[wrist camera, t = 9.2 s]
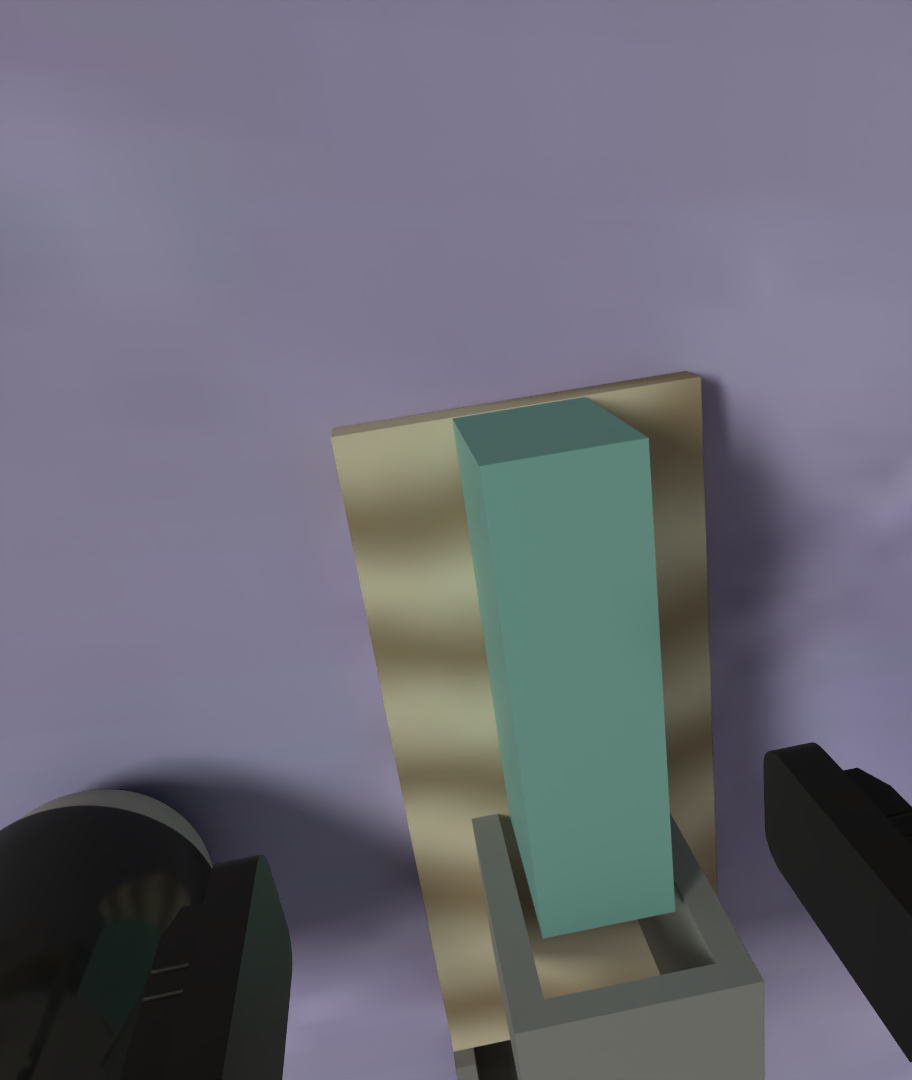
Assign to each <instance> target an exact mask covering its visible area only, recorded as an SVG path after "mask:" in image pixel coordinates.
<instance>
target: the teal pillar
mask: <svg viewBox="0 0 912 1080" xmlns="http://www.w3.org/2000/svg"><path fill="white" fill-rule="evenodd" d="M452 420H453V427H454V434H455V441H456V448H457V454H458V461H459V468H460V475H461V482H462V489H463V496H464V503H465V510H466V517H467V524H468V531H469V538H470V545H471V552H472V559H473V566H474V573H475V580H476V586H477V593H478V600H479V607H480V614H481V621H482V628H483V635H484V642H485V649H486V656H487V663H488V670H489V677H490V684H491V691H492V698H493V705H494V712H495V719H496V725H497V732H498V739H499V746H500V753H501V760H502V767H503V774H504V781H505V788H506V795H507V802H508V809H509V814H510V818H511V822H512V826H513V829H514V833H515V837H516V840H517V844H518V848H519V852H520V855H521V859H522V863H523V867H524V870H525V874H526V878H527V881H528V885H529V889H530V893H531V896H532V900H533V904H534V907H535V911H536V915H537V919H538V922H539V926H540V930H541V934H542V937H543V939H544V938H549V937H554V936H558V935H563V934H568V933H573V932H578V931H583V930H588V929H593V928H598V927H603V926H607V925H612V924H617V923H622V922H627V921H632V920H637V919H642V918H647V917H651V916H656V915H661V914H666V913H671V912H675V897H674V879H673V861H672V844H671V826H670V808H669V790H668V772H667V755H666V737H665V719H664V701H663V684H662V666H661V648H660V630H659V613H658V595H657V577H656V559H655V541H654V524H653V506H652V488H651V470H650V453H649V438H648V437H647V436H645V435H643V434H642V433H640V432H639V431H637V430H636V429H634V428H632V427H631V426H629V425H628V424H626V423H625V422H623V421H621V420H620V419H618V418H617V417H615V416H614V415H612V414H611V413H609V412H607V411H606V410H604V409H603V408H601V407H600V406H598V405H596V404H595V403H593V402H592V401H590V400H589V399H587V398H586V397H581V398H575V399H569V400H563V401H557V402H551V403H545V404H539V405H533V406H527V407H520V408H514V409H508V410H502V411H496V412H490V413H484V414H478V415H472V416H466V417H459V418H453V419H452Z"/></svg>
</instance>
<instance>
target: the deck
mask: <svg viewBox="0 0 912 1080" xmlns="http://www.w3.org/2000/svg"><path fill="white" fill-rule="evenodd" d="M581 397H586V398H587V399H589V400H590V401H592V402H593V403H595V404H596V405H598V406H600V407H601V408H603V409H604V410H606V411H607V412H609V413H611V414H612V415H614V416H615V417H617V418H618V419H620V420H621V421H623V422H625V423H626V424H628V425H629V426H631V427H632V428H634V429H636V430H637V431H639V432H640V433H642V434H643V435H645V436H647V437H648V438H649V453H650V470H651V488H652V506H653V524H654V541H655V559H656V577H657V595H658V613H659V630H660V648H661V666H662V684H663V701H664V719H665V737H666V755H667V772H668V790H669V808H670V813H671V815H672V817H673V819H674V820H675V822H676V824H677V826H678V828H679V829H680V831H681V833H682V835H683V837H684V838H685V840H686V842H687V844H688V846H689V847H690V849H691V851H692V853H693V855H694V856H695V858H696V860H697V862H698V864H699V865H700V867H701V869H702V871H703V873H704V874H705V876H706V878H707V880H708V882H709V883H710V885H711V887H712V889H713V891H714V892H715V894H716V896H717V866H716V834H715V803H714V771H713V740H712V708H711V677H710V645H709V614H708V582H707V550H706V519H705V487H704V456H703V424H702V393H701V376H698V375H695V374H692V373H689V372H687V371H683V372H677V373H671V374H665V375H659V376H653V377H647V378H640V379H634V380H628V381H622V382H616V383H610V384H604V385H598V386H591V387H585V388H579V389H573V390H567V391H561V392H555V393H549V394H542V395H536V396H530V397H524V398H518V399H512V400H506V401H500V402H493V403H487V404H481V405H475V406H469V407H463V408H457V409H451V410H444V411H438V412H432V413H426V414H420V415H414V416H408V417H402V418H395V419H389V420H383V421H377V422H371V423H365V424H359V425H353V426H346V427H340V428H334V429H332V433H331V441H332V446H333V451H334V456H335V461H336V466H337V471H338V476H339V481H340V486H341V491H342V496H343V501H344V506H345V511H346V516H347V521H348V526H349V531H350V536H351V541H352V546H353V551H354V556H355V561H356V566H357V571H358V576H359V581H360V586H361V591H362V596H363V601H364V606H365V611H366V616H367V621H368V626H369V631H370V636H371V641H372V646H373V651H374V656H375V661H376V666H377V671H378V676H379V681H380V686H381V691H382V696H383V701H384V706H385V711H386V716H387V721H388V726H389V731H390V736H391V741H392V746H393V751H394V756H395V761H396V766H397V771H398V776H399V781H400V785H401V790H402V795H403V800H404V805H405V810H406V815H407V820H408V825H409V830H410V835H411V840H412V845H413V850H414V855H415V860H416V865H417V870H418V875H419V880H420V885H421V890H422V895H423V900H424V905H425V910H426V915H427V920H428V925H429V930H430V935H431V940H432V945H433V950H434V955H435V960H436V965H437V970H438V975H439V980H440V985H441V990H442V995H443V1000H444V1005H445V1010H446V1015H447V1020H448V1025H449V1030H450V1035H451V1040H452V1045H453V1050H454V1058H455V1066H456V1072H457V1077H458V1080H518V1077H517V1071H516V1066H515V1061H514V1056H513V1051H512V1046H511V1040H510V1035H509V1030H508V1025H507V1020H506V1014H505V1009H504V1004H503V999H502V994H501V989H500V983H499V978H498V973H497V968H496V963H495V957H494V952H493V946H492V940H491V934H490V928H489V922H488V916H487V910H486V904H485V898H484V892H483V886H482V880H481V873H480V867H479V861H478V855H477V849H476V843H475V837H474V831H473V825H472V819H473V818H478V817H483V816H488V815H493V814H498V816H499V820H500V824H501V828H502V832H503V836H504V840H505V844H506V849H507V853H508V857H509V861H510V865H511V869H512V873H513V877H514V881H515V885H516V889H517V893H518V897H519V901H520V905H521V909H522V913H523V917H524V921H525V925H526V929H527V933H528V937H529V941H530V945H531V949H532V953H533V957H534V961H535V965H536V969H537V973H538V977H539V981H540V985H541V989H542V994H543V998H544V999H549V998H553V997H558V996H563V995H568V994H573V993H577V992H582V991H587V990H592V989H597V988H601V987H606V986H611V985H616V984H620V983H625V982H630V981H635V980H640V979H644V978H649V977H654V976H659V975H660V973H659V970H658V968H657V965H656V963H655V961H654V958H653V956H652V954H651V951H650V949H649V946H648V944H647V942H646V939H645V937H644V934H643V932H642V930H641V927H640V925H639V922H638V919H637V920H632V921H627V922H622V923H617V924H612V925H607V926H603V927H598V928H593V929H588V930H583V931H578V932H573V933H568V934H563V935H558V936H554V937H549V938H544V939H543V937H542V934H541V930H540V926H539V922H538V919H537V915H536V911H535V907H534V904H533V900H532V896H531V893H530V889H529V885H528V881H527V878H526V874H525V870H524V867H523V863H522V859H521V855H520V852H519V848H518V844H517V840H516V837H515V833H514V829H513V826H512V822H511V818H510V814H509V809H508V802H507V795H506V788H505V781H504V774H503V767H502V760H501V753H500V746H499V739H498V732H497V725H496V719H495V712H494V705H493V698H492V691H491V684H490V677H489V670H488V663H487V656H486V649H485V642H484V635H483V628H482V621H481V614H480V607H479V600H478V593H477V586H476V580H475V573H474V566H473V559H472V552H471V545H470V538H469V531H468V524H467V517H466V510H465V503H464V496H463V489H462V482H461V475H460V468H459V461H458V454H457V448H456V441H455V434H454V427H453V420H452V419H453V418H459V417H466V416H472V415H478V414H484V413H490V412H496V411H502V410H508V409H514V408H520V407H527V406H533V405H539V404H545V403H551V402H557V401H563V400H569V399H575V398H581ZM717 898H718V897H717Z"/></svg>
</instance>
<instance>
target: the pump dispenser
mask: <svg viewBox="0 0 912 1080" xmlns="http://www.w3.org/2000/svg"><path fill="white" fill-rule="evenodd" d="M212 868H213V866H212V862H211V859H210V856H209V854H208V851H207V849H206V847H205V845H204V843H203V841H202V839H201V838H200V836H199V835H198V833H197V832H196V830H195V829H194V828H193V827H192V826H191V824H190V823H189V822H188V821H187V820H186V819H185V818H184V817H183V816H182V815H180V814H179V813H178V812H177V811H175V810H174V809H172V808H171V807H169V806H168V805H166V804H164V803H162V802H160V801H158V800H156V799H154V798H152V797H149V796H146V795H143V794H139V793H135V792H131V791H125V790H115V789H100V790H89V791H82V792H78V793H74V794H70V795H66V796H63V797H60V798H58V799H55V800H53V801H51V802H48V803H46V804H44V805H42V806H40V807H39V808H37V809H35V810H33V811H32V812H30V813H28V814H27V815H25V816H24V817H22V818H21V819H20V820H18V821H16V822H14V823H12V824H10V825H8V826H7V827H5V828H3V829H2V830H0V1080H119V1079H120V1075H121V1072H122V1068H123V1065H124V1061H125V1058H126V1054H127V1051H128V1047H129V1044H130V1040H131V1037H132V1034H133V1030H134V1027H135V1023H136V1020H137V1016H138V1013H139V1009H140V1006H141V1004H142V1003H143V1002H144V999H143V995H144V992H145V989H146V985H147V982H148V978H149V976H151V968H152V964H153V961H154V957H155V954H156V950H157V947H158V943H159V940H160V937H161V936H162V934H163V933H164V932H165V930H166V929H167V927H168V926H169V925H170V923H171V922H172V920H173V919H174V918H175V916H176V915H177V913H178V912H179V911H180V909H181V908H182V907H185V906H190V905H194V904H199V903H204V898H205V894H206V890H207V886H208V882H209V877H210V873H211V870H212Z"/></svg>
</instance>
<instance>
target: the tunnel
mask: <svg viewBox="0 0 912 1080" xmlns="http://www.w3.org/2000/svg"><path fill="white" fill-rule="evenodd" d="M472 825H473V831H474V837H475V843H476V849H477V855H478V861H479V867H480V873H481V880H482V886H483V892H484V898H485V904H486V910H487V916H488V922H489V928H490V934H491V940H492V946H493V952H494V957H495V963H496V968H497V973H498V978H499V983H500V989H501V994H502V999H503V1004H504V1009H505V1014H506V1020H507V1025H508V1030H509V1035H510V1040H511V1046H512V1051H513V1056H514V1061H515V1066H516V1071H517V1077H518V1080H765V1069H764V980H763V979H762V977H761V975H760V973H759V971H758V970H757V968H756V966H755V964H754V962H753V961H752V959H751V957H750V955H749V954H748V952H747V950H746V948H745V946H744V945H743V943H742V941H741V939H740V937H739V936H738V934H737V932H736V930H735V928H734V927H733V925H732V923H731V921H730V919H729V918H728V916H727V914H726V912H725V910H724V909H723V907H722V905H721V903H720V901H719V900H718V898H717V896H716V894H715V892H714V891H713V889H712V887H711V885H710V883H709V882H708V880H707V878H706V876H705V874H704V873H703V871H702V869H701V867H700V865H699V864H698V862H697V860H696V858H695V856H694V855H693V853H692V851H691V849H690V847H689V846H688V844H687V842H686V840H685V838H684V837H683V835H682V833H681V831H680V829H679V828H678V826H677V824H676V822H675V820H674V819H673V817H672V815H671V813H670V826H671V844H672V861H673V879H674V897H675V912H671V913H666V914H661V915H656V916H651V917H647V918H642V919H638V922H639V925H640V927H641V930H642V932H643V934H644V937H645V939H646V942H647V944H648V946H649V949H650V951H651V954H652V956H653V958H654V961H655V963H656V965H657V968H658V970H659V973H660V975H659V976H654V977H649V978H644V979H640V980H635V981H630V982H625V983H620V984H616V985H611V986H606V987H601V988H597V989H592V990H587V991H582V992H577V993H573V994H568V995H563V996H558V997H553V998H549V999H544V998H543V994H542V989H541V985H540V981H539V977H538V973H537V969H536V965H535V961H534V957H533V953H532V949H531V945H530V941H529V937H528V933H527V929H526V925H525V921H524V917H523V913H522V909H521V905H520V901H519V897H518V893H517V889H516V885H515V881H514V877H513V873H512V869H511V865H510V861H509V857H508V853H507V849H506V844H505V840H504V836H503V832H502V828H501V824H500V820H499V816H498V814H493V815H488V816H483V817H478V818H473V819H472Z"/></svg>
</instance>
